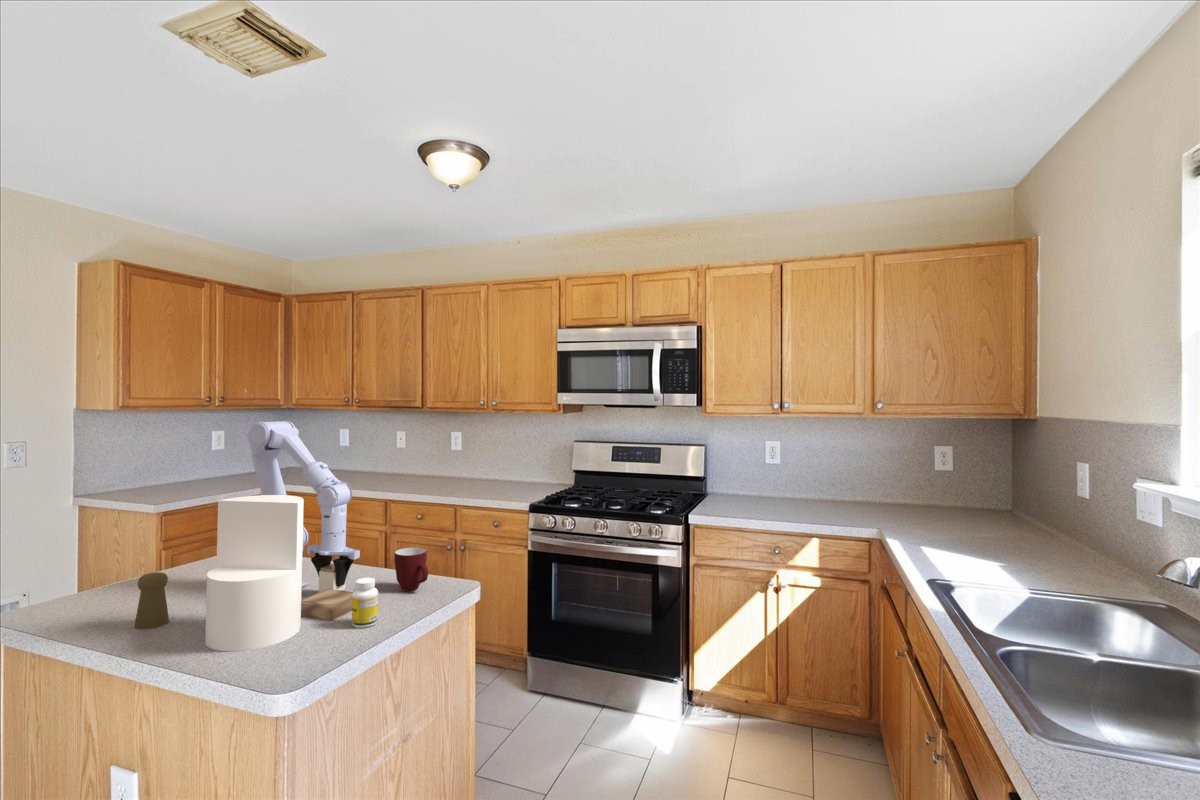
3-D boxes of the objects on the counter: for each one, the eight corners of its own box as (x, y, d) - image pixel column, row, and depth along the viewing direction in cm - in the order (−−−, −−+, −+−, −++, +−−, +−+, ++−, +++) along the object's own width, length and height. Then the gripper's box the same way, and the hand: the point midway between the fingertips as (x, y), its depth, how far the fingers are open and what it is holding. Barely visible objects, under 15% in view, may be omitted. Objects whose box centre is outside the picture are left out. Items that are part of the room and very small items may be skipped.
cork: (130, 631, 120) (131, 579, 120) (138, 621, 125) (139, 571, 125) (166, 626, 123) (167, 575, 123) (171, 616, 128) (173, 568, 128)
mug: (439, 588, 151) (440, 551, 151) (417, 597, 144) (418, 558, 144) (409, 582, 155) (410, 546, 155) (386, 590, 148) (387, 552, 148)
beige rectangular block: (318, 591, 143) (319, 568, 143) (331, 586, 147) (331, 563, 147) (333, 593, 142) (333, 569, 142) (345, 588, 146) (346, 565, 146)
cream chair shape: (241, 616, 129) (244, 493, 129) (316, 619, 129) (319, 496, 129) (183, 649, 112) (187, 508, 112) (269, 653, 111) (273, 511, 111)
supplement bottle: (351, 621, 128) (352, 577, 128) (377, 617, 130) (378, 575, 130) (351, 630, 123) (352, 585, 123) (378, 626, 125) (379, 582, 125)
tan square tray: (295, 615, 131) (295, 601, 131) (327, 600, 140) (327, 588, 140) (331, 620, 128) (331, 606, 128) (361, 605, 137) (361, 592, 137)
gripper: (298, 532, 143) (296, 585, 143) (346, 537, 139) (345, 592, 139) (319, 526, 149) (317, 577, 149) (366, 531, 146) (364, 583, 146)
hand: (332, 584), depth 145 cm, fingers closed on beige rectangular block, 4 cm apart
